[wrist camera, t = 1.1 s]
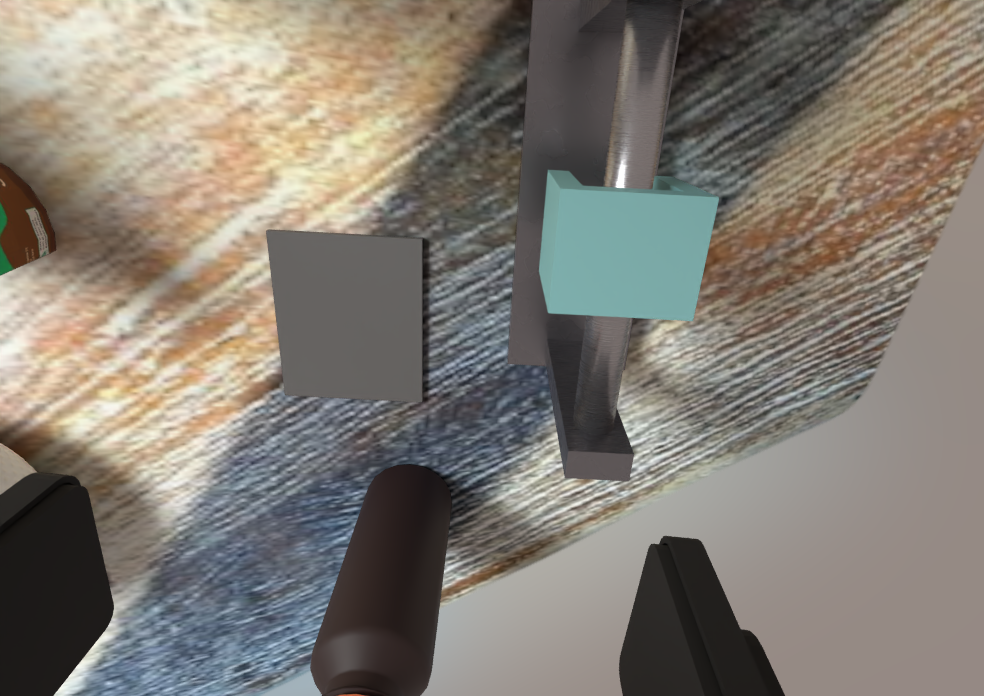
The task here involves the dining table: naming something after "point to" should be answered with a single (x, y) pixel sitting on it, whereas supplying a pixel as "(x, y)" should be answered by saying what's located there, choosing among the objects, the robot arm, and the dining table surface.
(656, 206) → the teal u-channel
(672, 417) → the dining table surface
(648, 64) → the stand
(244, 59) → the dining table surface
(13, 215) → the food container
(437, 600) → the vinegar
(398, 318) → the mat
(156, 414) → the dining table surface
